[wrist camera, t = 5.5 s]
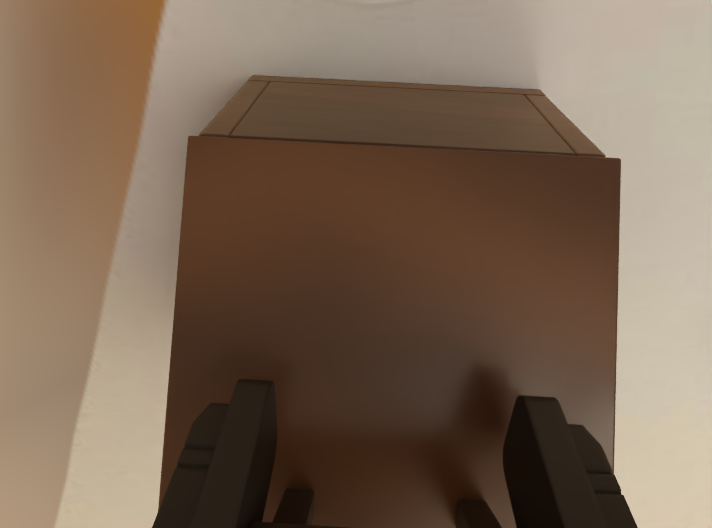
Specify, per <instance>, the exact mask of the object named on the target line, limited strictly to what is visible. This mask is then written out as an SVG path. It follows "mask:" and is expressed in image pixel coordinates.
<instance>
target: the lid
mask: <svg viewBox="0 0 712 528" xmlns="http://www.w3.org/2000/svg"><path fill="white" fill-rule="evenodd" d="M620 177H621V159H619V158H604V157H585V156H566V155H547V154H528V153H509V152H490V151H471V150H452V149H433V148H414V147H395V146H376V145H357V144H338V143H319V142H300V141H281V140H262V139H243V138H224V137H205V136H189V137H188V145H187V158H186V170H185V183H184V195H183V208H182V220H181V233H180V245H179V258H178V270H177V283H176V295H175V308H174V320H173V333H172V345H171V358H170V370H169V383H168V395H167V408H166V421H165V433H164V446H163V458H162V471H161V483H160V496H159V508H158V511H159V509H160V506H161V504H162V501H163V498H164V496H165V493H166V491H167V488H168V486H169V483H170V480H171V478H172V475H173V473H174V470H175V468H177V462H178V460H179V457H180V454H181V452H182V449H184V446H185V442H186V439H187V436H188V434H189V431H190V429H191V426H192V423H193V421H194V420H195V419H196V418H197V417H198V416H199V415H200V414H201V413H202V412H203V411H204V410H205V408H206V407H207V406H208V405H209V404H210V403H223V404H230V401H231V398H232V395H233V392H234V388H235V385H236V383H237V381H238V379H252V380H270V381H274V383H275V396H276V414H277V447H276V455H275V461H274V466H273V471H272V476H271V481H270V486H269V491H268V496H267V500H266V505H265V510H264V515H263V520H262V522H253V523H252V524H251V525H250V527H249V528H517V527H516V523H515V518H514V514H513V510H512V505H511V501H510V497H509V493H508V488H507V484H506V480H505V475H504V470H503V446H504V441H505V437H506V434H507V430H508V426H509V423H510V419H511V415H512V412H513V408H514V404H515V401H516V398H517V397H518V396H519V395H522V396H539V397H555V398H556V399H557V400H558V401H559V403H560V405H561V408H562V410H563V413H564V415H565V418H566V421H567V423H568V424H576V425H583V426H584V427H585V428H586V429H587V430H588V431H589V433H590V434H591V435H592V436H593V437H594V438H595V439H596V440H597V441H598V442H599V444H600V445H601V446H602V448H603V450H604V452H605V454H606V457H607V459H608V461H609V464H610V466H611V468H612V474H613V475H614V437H615V393H616V350H617V307H618V263H619V220H620Z"/></svg>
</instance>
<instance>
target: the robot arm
mask: <svg viewBox="0 0 712 528" xmlns="http://www.w3.org/2000/svg"><path fill="white" fill-rule="evenodd" d="M276 447H277V414H276V396H275V383H274V381H270V380H252V379H238V381H237V383H236V385H235V388H234V392H233V395H232V398H231V401H230V404H223V403H210V404H209V405H208V406H207V407H206V408H205V410H204V411H203V412H202V413H201V414H200V415H199V416H198V417H197V418H196V419H195V420H194V421H193V423H192V426H191V429H190V431H189V434H188V436H187V439H186V442H185V446H184V449H182V452H181V454H180V457H179V460H178V462H177V468H175V470H174V473H173V475H172V478H171V480H170V483H169V486H168V488H167V491H166V493H165V496H164V498H163V501H162V504H161V506H160V509H159V511H158V514H157V517H156V519H155V522H154V524H153V527H152V528H249V527H250V525H251V524H252V523H253V522H262V520H263V515H264V510H265V505H266V500H267V496H268V491H269V486H270V481H271V476H272V471H273V466H274V461H275V455H276ZM503 470H504V475H505V480H506V484H507V488H508V493H509V497H510V501H511V505H512V510H513V514H514V518H515V523H516V527H517V528H638V527H637V525H636V523H635V521H634V518H633V516H632V514H631V512H630V509H629V507H628V505H627V502H626V500H625V498H624V496H623V495H621V489H620V486H619V484H618V482H617V480H616V477H615V475H613V474H612V468H611V466H610V464H609V461H608V459H607V457H606V454H605V452H604V450H603V448H602V446H601V445H600V444H599V442H598V441H597V440H596V439H595V438H594V437H593V436H592V435H591V434H590V433H589V431H588V430H587V429H586V428H585V427H584V426H583V425H576V424H568V423H567V421H566V418H565V415H564V413H563V410H562V408H561V405H560V403H559V401H558V400H557V399H556V398H555V397H539V396H522V395H519V396H518V397H517V398H516V401H515V404H514V408H513V412H512V415H511V419H510V423H509V426H508V430H507V434H506V437H505V441H504V446H503Z"/></svg>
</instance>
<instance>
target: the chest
mask: <svg viewBox="0 0 712 528" xmlns="http://www.w3.org/2000/svg"><path fill="white" fill-rule="evenodd" d="M199 136H205V137H224V138H243V139H262V140H281V141H300V142H319V143H338V144H357V145H376V146H395V147H414V148H433V149H452V150H471V151H490V152H509V153H528V154H547V155H566V156H585V157H604V158H605V155H604V154H603V153H602V152H601V151H600V150H599V149H598V148H597V147H596V146H595V145H594V144H593V143H592V142H591V141H590V140H589V139H588V138H587V137H586V136H585V135H584V134H583V133H582V132H581V131H580V130H579V129H578V128H577V127H576V126H575V125H574V124H573V123H572V122H571V121H570V120H569V119H568V118H567V117H566V116H565V115H564V114H563V113H562V112H561V111H560V110H559V109H558V108H557V107H556V106H555V105H554V104H553V103H552V102H551V101H550V100H549V99H548V98H547V97H546V95H545V94H544V93H543V92H542V91H541V90H531V89H512V88H492V87H472V86H453V85H433V84H413V83H394V82H374V81H354V80H335V79H315V78H295V77H276V76H256V75H253V76H252V77H251V78H250V79H249V80H248V82H247V83H246V84H245V85H244V86H243V87H242V88H241V89H240V90H239V91H238V93H237V94H236V95H235V96H234V97H233V98H232V99H231V100H230V101H229V102H228V104H227V105H226V106H225V107H224V108H223V109H222V110H221V111H220V112H219V113H218V115H217V116H216V117H215V118H214V119H213V120H212V121H211V122H210V123H209V124H208V126H207V127H206V128H205V129H204V130H203V131H202V132H201V133H200V135H199Z"/></svg>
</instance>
